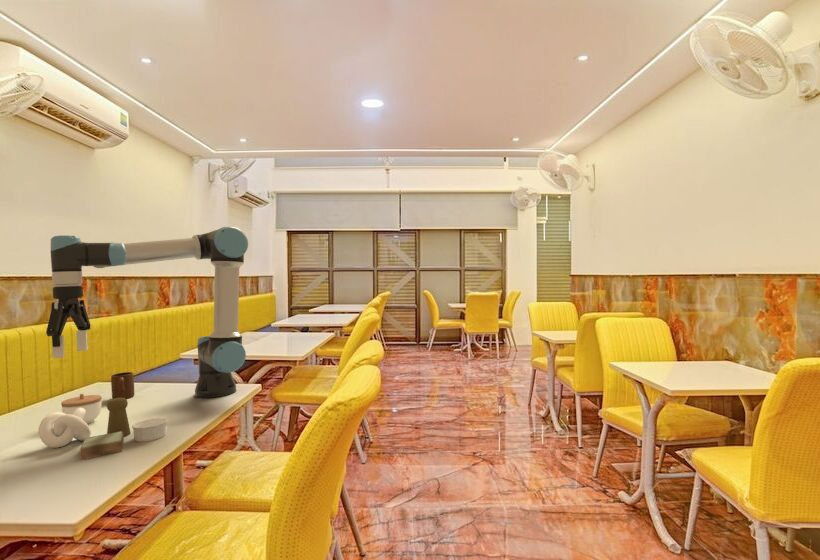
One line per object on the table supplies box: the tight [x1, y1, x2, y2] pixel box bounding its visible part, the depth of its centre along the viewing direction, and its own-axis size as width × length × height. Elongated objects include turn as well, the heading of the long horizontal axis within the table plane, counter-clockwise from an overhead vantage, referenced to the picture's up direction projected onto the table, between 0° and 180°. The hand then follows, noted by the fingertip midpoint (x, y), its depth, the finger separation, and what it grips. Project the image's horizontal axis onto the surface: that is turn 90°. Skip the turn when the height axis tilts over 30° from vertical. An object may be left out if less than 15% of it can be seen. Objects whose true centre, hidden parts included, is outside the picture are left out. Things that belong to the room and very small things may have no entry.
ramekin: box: [131, 417, 168, 443], centre depth 132 cm, size 9×9×4 cm
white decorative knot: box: [38, 408, 92, 449], centre depth 130 cm, size 11×12×9 cm
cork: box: [106, 398, 131, 438], centre depth 135 cm, size 6×6×11 cm
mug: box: [110, 371, 135, 400], centre depth 179 cm, size 12×8×9 cm, turn 29°
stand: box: [80, 431, 125, 460], centre depth 123 cm, size 9×9×3 cm
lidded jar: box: [61, 393, 103, 425], centre depth 149 cm, size 11×11×9 cm
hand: (71, 354), depth 142 cm, fingers open, 13 cm apart
